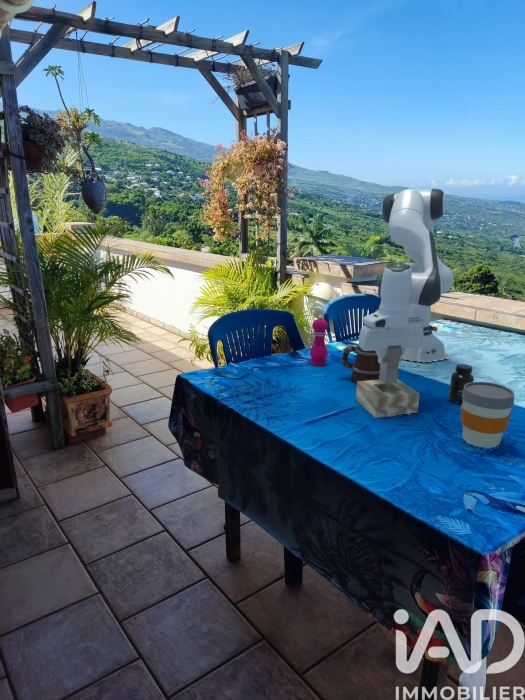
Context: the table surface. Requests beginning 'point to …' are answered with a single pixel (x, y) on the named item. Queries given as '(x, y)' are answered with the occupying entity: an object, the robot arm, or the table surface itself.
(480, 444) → the reusable coffee cup
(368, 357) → the mug
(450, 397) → the supplement bottle
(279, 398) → the table surface
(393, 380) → the grey rectangular bar
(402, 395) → the well block
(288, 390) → the table surface
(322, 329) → the pepper mill
